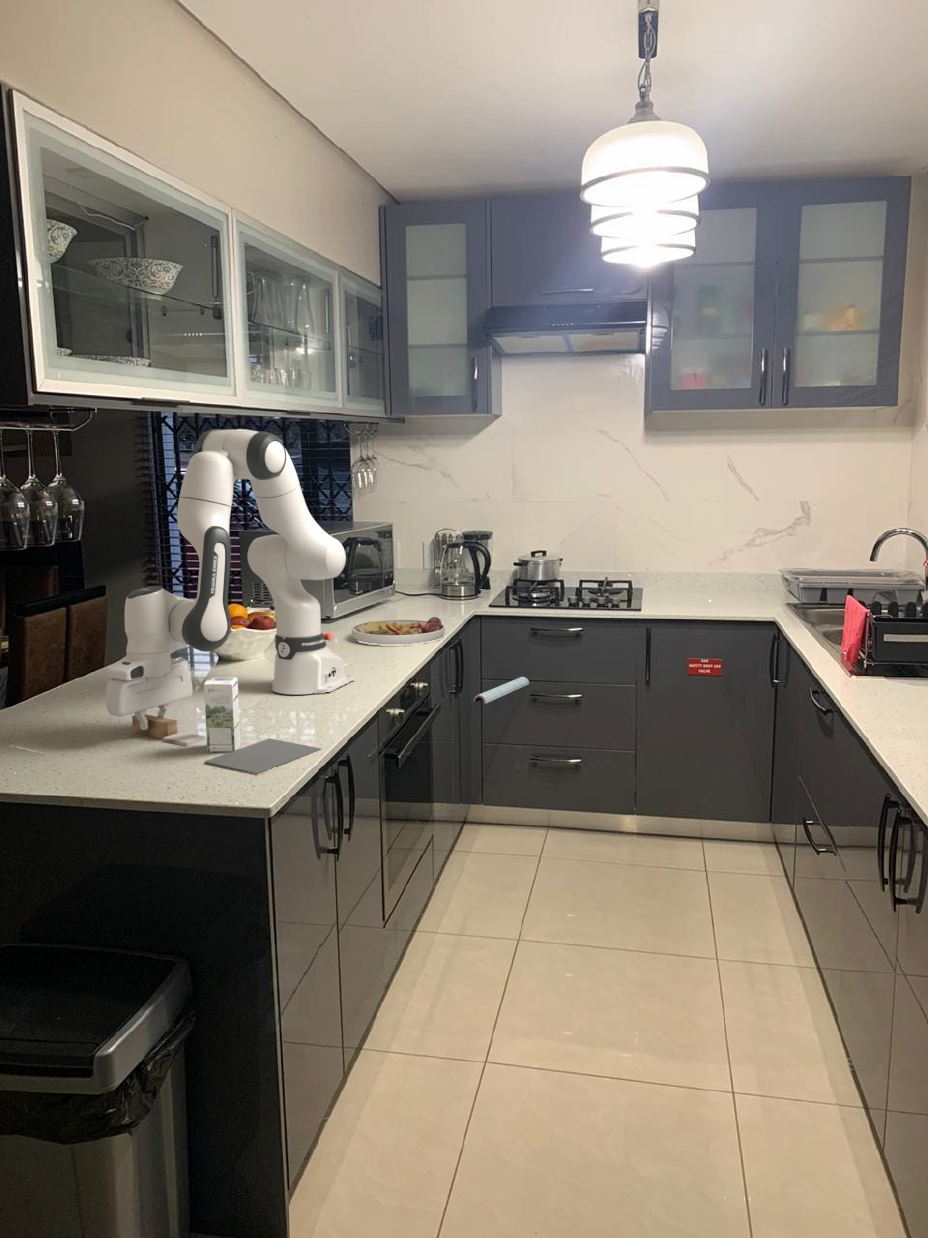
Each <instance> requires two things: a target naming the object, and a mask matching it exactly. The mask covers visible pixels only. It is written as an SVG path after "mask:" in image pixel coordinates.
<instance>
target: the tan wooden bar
mask: <svg viewBox="0 0 928 1238" xmlns="http://www.w3.org/2000/svg"><path fill="white" fill-rule="evenodd" d="M156 716H157V715H151V714H147V713H146V714H145V717H146V719H147V720H149V721H151V728H150V729H147V730H141V728H140V721H139V720H138V719H137V717H136V716H135V714H134V715H132V716H131V719H132V733H134V734H139V735H143V736H144V735H145V736H149V737H154V738H158V739H162V740H163V742H165V743H169V744H170V743H171V744H175V745H179V746H184V747H188V746H191V745H194V744H198V743H201V742H204V741H206V736H203V735H198V734H194V733H189V732H186V731H185V732H184V731H181V732H178V724H177V723H178V722H177V721H178V720H175V719H170V718H167V717H166V718H162V717H156Z"/></svg>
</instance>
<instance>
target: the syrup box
mask: <svg viewBox="0 0 928 1238" xmlns="http://www.w3.org/2000/svg"><path fill="white" fill-rule="evenodd" d="M203 693H204V694H203V696H204V714H205V731H206V732H205V733H206V750H207V754H208V753H209V754H211V753H212V754H213V753H216V754H217V753H218V754H219V753H229V752H232V751H235V750H238V749H239V747H240V746H241V732H240V710H239V709H240V708H239V707H240V706H239V681H238V677H235V676H234V677H231V676H230V677H209V678H208V679H206V680H205V681H204V683H203Z"/></svg>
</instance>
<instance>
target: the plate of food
mask: <svg viewBox="0 0 928 1238" xmlns="http://www.w3.org/2000/svg"><path fill="white" fill-rule="evenodd" d="M445 631H446V627H445V625H444V624H443V623H442V620H441V619H440V618H439V617H437V616H432V617H430V618H429V619H428V620H419V619H414V620H413V619H388V620H387V619H386V620H376V621H375V620H373V621H372V620H370V621H366V622H363V623H362V622H361V623H359V624H356V625H353V626H352V627H351V635H352V638H353V640H355V639H356V640H358V641H363V642H368V643H377V644H412V643H420V642H427V641H432V640H436V639H439V638H441V637H442V638H444V636H445ZM356 640H355V641H356Z"/></svg>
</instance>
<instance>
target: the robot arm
mask: <svg viewBox="0 0 928 1238" xmlns="http://www.w3.org/2000/svg"><path fill="white" fill-rule="evenodd" d="M184 473H185V474H184V476H183V480H182V484H181V489H180V491H179V492H180V493H179V498H178V504H177V510H176V512H177V513H176V519H177V527H178V529H179V532H180V533H181V535H182V536H183V537H184V538H185V540H187V541H188V542H189V543H190V544H191V545H192V546H193V548H194V549H195V551H196V553H197V556H198V562H199V566H198V567H199V569H198V580H197V594H196V599H189V598H186V597H183V596H179V595H178V594H174V593H171V592H169V591H167V590H166V589H165V588H163V587H162V586H159V585H150V586H143V587H139V588H136V589H134V590H132V591H131V592H129V593H128V594H127V596H126V598H125V603H124V632H125V634H126V638H127V645H126V650H125V651H126V655H125V656H124V657H122V658H121V659H119V660H118V661H117V662H115V663H113V664H112V665H110V666H108V667H107V668H106V670H105V671H106V676H107V677H108V678H110V679H109V680H108V681H107V683H106V689H105V697H106V699H105V703H106V710H107V712H108V713H109V714H110V715H111V716H114V717H115V716H116V717H124V716H127V715H132V714H134V715H135V716H136V717H137V719H138V720H139V721H140V728H141V730H147V729H150V728H151V721H149V720H147V719H146V717H145V714H146V715H147V710H149V709H153V708H156V707H157V708H158V709H159V710H158V713H157V715H155V716H156V717H162V718H167V715H168V713H169V710H170V704H171V703H175V702H178V701H182V700H185V699H189V698H191V697H192V694H193V691H194V690H193V689H194V688H193V682H192V678H191V672H190V670H189V669H190V668H189V667H190V666H189V661H188V660H187V658H184V657H183V656H177V657H174V658H172V655H171V645H172V644H173V643H180V644H182V645H186V646H189V647H191V648H193V649H195V650H197V651H199V652H203V653H205V652H213V651H215V650H218V649H219V648H220V647H222V646H223V645H224V644H225V643H226V641H227V640H228V638H229V636H230V633H231V629H232V620H231V615H230V611H229V601H228V600H229V587H230V574H231V561H232V559H231V557H232V556H231V555H232V554H231V553H232V544H231V543H232V542H231V536H230V520H231V511H232V505H233V497H234V486H235V485H234V484H235V483H236V481H237V480H250V485H251V489H252V493H253V495H254V499H255V502H256V506H257V509H258V513H259V515H260V516H259V517H260V518H261V519H260V520H262V522H263V524H264V525H265V526H266V527H267V528H268V529H270V530H272V531H274V532H275V533H277V534H270V535H269V534H268V535H263V536H259V537H257V538H255V539H253V540H252V542H251V543H250V545H249V547H248V550H247V562H248V565H249V567H250V570H251V571H252V573H254V574H255V575H257V576H258V577H259V579H261V580H262V582H263V583H264V585H265V586H266V587H267V589H268V591H269V594H270V596H271V598H272V601H273V604H274V610H275V611H274V612H275V623H276V634H275V636H274V637H275V638H274V647H275V650H276V654H275V655H274V656H275V657H274V671H273V673H274V674H273V680H272V681H271V686H272V688H271V690H272V691H273V692H274V693H276V694H277V693H278V694H283V695H310V694H311V695H313V693H314V694H326V693H325V692H330V691H332V692H334V691H333V690H335V689H336V688H338V687H340V686H342V685H344V684H346V683H348V682H349V681H351V680H353V679H354V678H355V676H352V675H349V674H346V666H345V661H344V659H343V657H340V656H339V655H338V654H337V653H336V652H334V651H333V650H332V649H330V648H329V647H328V646H327V642H326V641H328V642H329V641H332V640H333V637H334V636H333V634H332V632H322V620H321V619H322V617H321V616H322V614H321V604H320V602H319V600H318V599H317V598H316V597H315V596H313V595H312V594H310V593H308V592H307V590H305V588H304V586H303V584H302V580H304V581H305V580H309V581H323V580H328V579H329V580H330V579H334V578H337V577H338V576H339V575H340V574H341V573H342V572H343V570H344V569H345V566H346V561H347V556H346V555H347V554H346V551H345V548H344V546H343V544H342V543H341V542H340V540H339V539H336V538H335V537H333V536H331V535H330V534H328V533H327V532H326V531H325V530H324V529H323V528H322V526H320V525H319V524H318V523H317V521H316V520H315V518H314V517H313V516H312V514H311V513H310V511H309V508H308V506H307V503H306V501H305V497H304V494H303V492H302V487H301V485H300V480H299V477H298V473H297V471H296V468H295V466H294V464H293V460H292V458H291V457H290V454H289V453H288V451H287V449H286V447H285V445H284V444H283V441H282V440H281V439H280V437H278V436H277V435H275V434H273V433H271V432H267V431H258V430H257V431H256V430H251V429H246V428H245V429H244V428H237V429H220V428H215V429H210V430H206V431H205V432H203V433H202V434H200V436H199V438H198V439H197V440H196V443H195V446H194V450H193V456H192V457H191V458H190V460H189V462H188V464H187V467H186V470H185V472H184ZM335 691H336V690H335ZM330 693H331V692H330Z"/></svg>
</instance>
